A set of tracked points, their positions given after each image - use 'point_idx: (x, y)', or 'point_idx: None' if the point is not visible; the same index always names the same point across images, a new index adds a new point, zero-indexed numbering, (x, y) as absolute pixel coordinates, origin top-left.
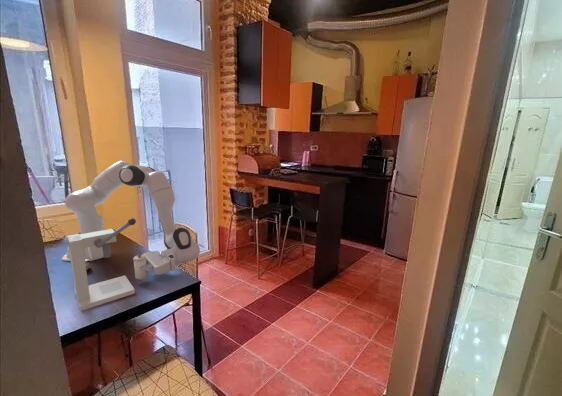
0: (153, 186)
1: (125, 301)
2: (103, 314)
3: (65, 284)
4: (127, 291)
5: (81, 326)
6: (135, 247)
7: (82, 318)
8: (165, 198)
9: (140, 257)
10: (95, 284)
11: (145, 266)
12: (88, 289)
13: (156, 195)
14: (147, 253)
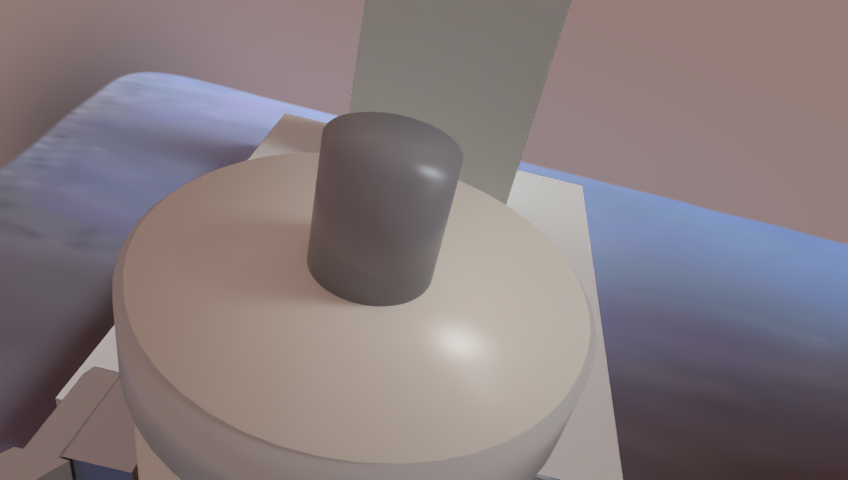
0: None
1: (44, 315)
2: (75, 171)
3: (770, 250)
4: (112, 327)
5: (103, 96)
6: None
7: (185, 125)
8: None
9: (303, 263)
10: (572, 266)
11: (6, 467)
12: (354, 82)
13: None
14: None
